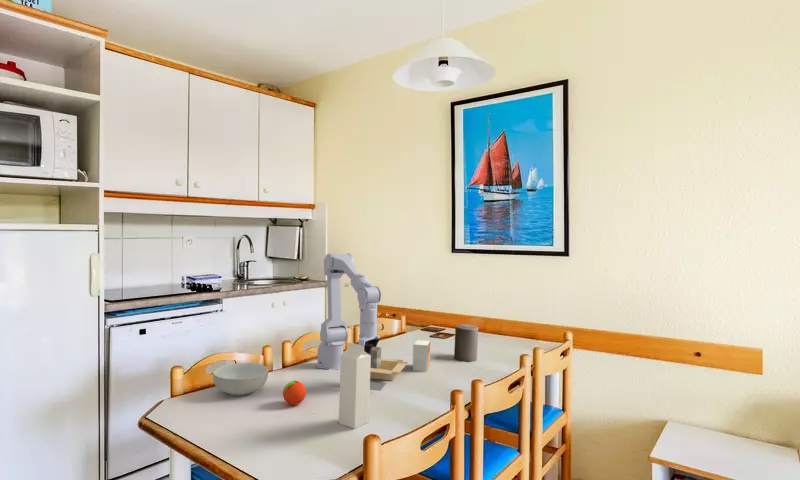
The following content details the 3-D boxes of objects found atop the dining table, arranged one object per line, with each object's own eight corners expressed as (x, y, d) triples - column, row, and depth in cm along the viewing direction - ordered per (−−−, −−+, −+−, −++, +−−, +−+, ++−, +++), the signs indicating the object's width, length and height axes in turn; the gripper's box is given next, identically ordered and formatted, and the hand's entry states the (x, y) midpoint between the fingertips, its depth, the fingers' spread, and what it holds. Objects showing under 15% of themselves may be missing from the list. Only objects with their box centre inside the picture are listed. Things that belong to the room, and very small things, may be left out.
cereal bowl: (215, 404, 141) (216, 380, 141) (210, 387, 156) (210, 365, 156) (272, 396, 149) (273, 374, 149) (262, 380, 164) (262, 360, 164)
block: (353, 366, 159) (354, 348, 159) (358, 362, 164) (359, 345, 164) (376, 368, 157) (377, 350, 157) (380, 364, 162) (381, 347, 162)
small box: (426, 373, 177) (427, 345, 177) (412, 371, 179) (413, 344, 178) (429, 367, 185) (430, 340, 185) (415, 365, 186) (416, 339, 186)
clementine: (291, 411, 137) (292, 387, 137) (274, 406, 141) (275, 382, 141) (310, 403, 144) (311, 380, 144) (294, 398, 148) (294, 375, 148)
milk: (353, 417, 135) (355, 340, 134) (369, 422, 131) (371, 343, 131) (338, 423, 130) (340, 343, 129) (354, 429, 126) (356, 347, 126)
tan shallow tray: (350, 379, 168) (350, 369, 168) (366, 365, 185) (366, 356, 185) (397, 384, 163) (397, 374, 163) (408, 369, 181) (409, 360, 181)
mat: (346, 387, 159) (346, 386, 159) (354, 380, 166) (354, 379, 166) (380, 391, 156) (380, 390, 156) (386, 384, 163) (386, 383, 163)
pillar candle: (451, 360, 196) (452, 324, 196) (457, 354, 205) (458, 320, 205) (474, 363, 192) (475, 327, 192) (479, 357, 202) (481, 322, 201)
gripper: (373, 327, 152) (372, 368, 153) (385, 319, 167) (384, 357, 167) (352, 325, 154) (351, 366, 154) (366, 317, 168) (365, 355, 169)
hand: (367, 361), depth 161 cm, fingers closed on block, 5 cm apart
